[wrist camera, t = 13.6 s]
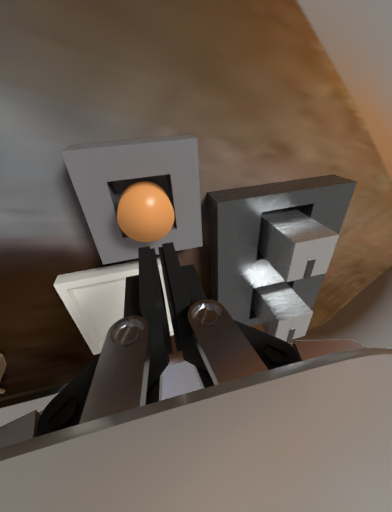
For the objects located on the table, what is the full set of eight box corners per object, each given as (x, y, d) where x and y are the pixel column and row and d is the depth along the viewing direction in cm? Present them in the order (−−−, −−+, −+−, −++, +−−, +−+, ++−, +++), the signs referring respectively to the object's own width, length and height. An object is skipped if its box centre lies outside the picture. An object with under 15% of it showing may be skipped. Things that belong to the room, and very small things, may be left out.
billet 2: (248, 278, 28) (279, 321, 22) (276, 272, 29) (313, 313, 23) (246, 301, 30) (273, 346, 24) (272, 295, 31) (305, 337, 25)
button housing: (71, 145, 16) (60, 151, 14) (188, 134, 18) (197, 138, 15) (106, 247, 21) (103, 264, 19) (195, 231, 23) (202, 246, 20)
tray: (57, 275, 22) (53, 285, 20) (172, 253, 24) (174, 261, 22) (95, 344, 28) (93, 354, 27) (182, 323, 30) (184, 332, 29)
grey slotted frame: (207, 192, 21) (217, 202, 18) (333, 174, 23) (356, 181, 21) (211, 317, 31) (218, 334, 28) (298, 295, 33) (311, 310, 31)
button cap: (112, 184, 16) (109, 194, 14) (166, 177, 17) (170, 185, 15) (125, 232, 18) (124, 246, 16) (172, 224, 19) (177, 237, 17)
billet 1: (254, 210, 23) (296, 244, 17) (288, 204, 23) (340, 235, 17) (251, 244, 25) (287, 284, 19) (282, 238, 26) (326, 274, 20)
